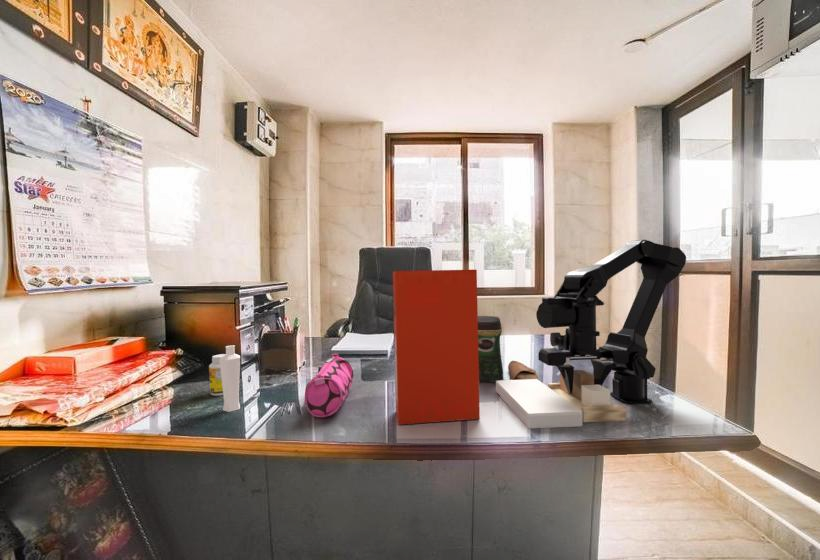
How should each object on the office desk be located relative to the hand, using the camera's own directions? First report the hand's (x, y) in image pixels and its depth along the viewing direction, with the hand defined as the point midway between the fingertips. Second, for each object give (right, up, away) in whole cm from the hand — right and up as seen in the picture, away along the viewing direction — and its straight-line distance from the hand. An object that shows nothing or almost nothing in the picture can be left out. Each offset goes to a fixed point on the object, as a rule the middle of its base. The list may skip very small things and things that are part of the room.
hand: (582, 392), depth 82 cm
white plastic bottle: (-83, -5, +3) cm, 83 cm away
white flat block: (-11, -3, 0) cm, 12 cm away
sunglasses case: (-7, -4, +21) cm, 23 cm away
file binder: (-34, -4, -4) cm, 35 cm away
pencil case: (-60, -5, +6) cm, 60 cm away
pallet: (0, -3, 0) cm, 3 cm away
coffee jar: (-18, -3, +22) cm, 28 cm away
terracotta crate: (0, -1, +5) cm, 5 cm away
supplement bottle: (-91, -5, +14) cm, 93 cm away
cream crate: (0, -1, -5) cm, 5 cm away
